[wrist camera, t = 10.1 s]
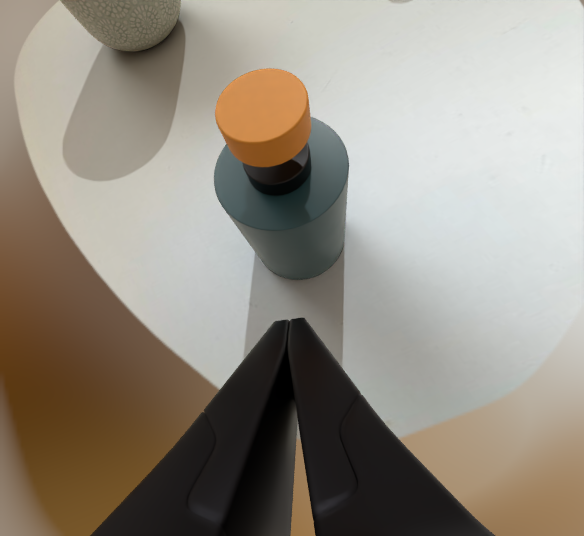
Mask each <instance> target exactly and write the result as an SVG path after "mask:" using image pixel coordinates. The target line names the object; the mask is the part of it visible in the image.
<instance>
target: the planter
mask: <svg viewBox="0 0 584 536" xmlns="http://www.w3.org/2000/svg"><path fill="white" fill-rule="evenodd" d="M60 1H61V2H62V3H63V4H64V6H65V7H66V8H67V9H68V10H69V11H70V13H71V14H72V15H73V16H74V17H75V18H76V19H77V20H78V22H79V23H80V24H81V25H82V26H83V27H84V28H85V29H86V30H87V31H88V32H89V33H90V34H91V35H92V36H93V37H94V38H96V39H97V40H98V41H100V42H101V43H103V44H104V45H106V46H108V47H111V48H114V49H117V50H122V51H141V50H146V49H149V48H151V47H153V46H155V45H157V44H159V43H160V42H161V41H163V40H164V39H165V38H166V37H167V36H168V35H169V34H170V32H171V31H172V29H173V28H174V26H175V24H176V22H177V19H178V16H179V12H180V6H181V0H60Z"/></svg>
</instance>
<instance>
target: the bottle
mask: <svg viewBox="0 0 584 536" xmlns="http://www.w3.org/2000/svg"><path fill="white" fill-rule="evenodd" d="M310 118H311V133H310V136H309V139H308V141H307V143H306V144H305V146H304V147H303V149H302V150H301V151H300V152H299V153H298V154H297V155H296V156H294V157H293V158H292V159H290V160H288V161H286V162H284V163H282V164H279V165H276V166H271V167H255V166H251V165H247V164H245V163H243V162H241V161H240V160H238V159H237V158H236V157H235V156H234V155H233V154H232V153H231V151H230V149H229V147H228V145H227V144H226V145H225V147H224V148H223V150H222V152H221V154H220V155H219V158H218V160H217V163H216V167H215V172H214V186H215V191H216V194H217V197H218V200H219V202H220V203H221V205H222V207H223V208H224V209H225V211H226V212H227V214H228V215H229V216H230V218H231V219H232V220H233V222H234V223H235V225H236V226H237V227H238V229H239V230H240V231H241V233H242V234H243V236H244V237H245V238H246V240H247V241H248V242H249V244H250V245H251V247H252V248H253V249H254V251H255V252H256V253H257V255H258V256H259V258H260V259H261V260H262V262H263V263H264V264H265V265H266V267H267V268H269V269H270V270H271V271H272V272H274V273H275V274H277V275H279V276H282V277H284V278H288V279H296V280H298V279H308V278H311V277H315V276H317V275H319V274H321V273H323V272H325V271H326V270H327V269H329V268H330V267H331V266H332V265H333V264H334V263H335V261H336V260H337V259H338V257H339V255H340V253H341V251H342V248H343V245H344V236H345V220H346V204H347V188H348V172H349V161H348V155H347V151H346V148H345V146H344V144H343V142H342V140H341V139H340V137H339V136H338V135H337V134H336V132H335V131H334V130H333V129H331V128H330V127H329V126H328V125H326V124H325V123H323V122H321V121H319V120H317V119H315V118H312V117H310Z"/></svg>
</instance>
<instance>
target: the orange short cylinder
mask: <svg viewBox="0 0 584 536" xmlns="http://www.w3.org/2000/svg"><path fill="white" fill-rule="evenodd" d="M215 117H216V122H217V125H218V127H219V129H220V131H221V133H222V135H223V137H224V139H225V141H226V143H227V145H228V147H229V149H230V151H231V153H232V154H233V155H234V156H235V157H236V158H237V159H238V160H240V161H241V162H243V163H245V164H247V165H251V166H255V167H271V166H276V165H279V164H282V163H284V162H286V161H288V160H290V159H292V158H293V157H294V156H296V155H297V154H298V153H299V152H300V151H301V150H302V149H303V147H304V146H305V144H306V143H307V141H308V139H309V136H310V133H311V118H310V108H309V99H308V93H307V90H306V88H305V86H304V85H303V83H302V82H301V81H300V80H299V79H298V78H297V77H296V76H295V75H293V74H291V73H289V72H287V71H284V70H279V69H260V70H255V71H252V72H249V73H246V74H244V75H242V76H240V77H238V78H237V79H235V80H234V81H233V82H231V83H230V84H229V85H228V86H227V87H226V88H225V89H224V91H223V92H222V93H221V95H220V97H219V99H218V101H217V105H216V110H215Z"/></svg>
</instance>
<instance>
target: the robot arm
mask: <svg viewBox="0 0 584 536" xmlns="http://www.w3.org/2000/svg"><path fill="white" fill-rule="evenodd" d="M204 412H205V413H204ZM204 412H202V413H201V414H200V415H199V417H198V418H197V419H196V420H195V421H194V423H193V424H192V425H191V427H190V428H189V429H188V430H187V431H186V432H185V434H184V435H183V436H182V437H181V438H180V440H179V441H178V442H177V443H176V444H175V446H174V447H173V448H172V449H171V450H170V451H169V452H168V453H167V454H166V456H165V457H164V458H163V459H162V460H161V461H160V462H159V463H158V464H157V465H156V466H155V468H154V469H153V470H152V471H151V472H150V473H149V474H148V475H147V477H145V479H143V480H142V481H141V483H140V484H139V485H138V486H137V487H136V488H135V489H134V490H133V491H132V492H131V493H130V494H129V495H128V496H127V497H126V498H125V499H124V501H123V502H122V503H121V504H120V505H119V506H118V507H117V508H116V509H115V510H114V511H113V512H112V513H111V514H110V515H109V516H108V517H107V519H106V520H105V521H104V522H103V523H102V524H101V525H100V526H99V527H98V528H97V529H96V530H95V531H94V532H93V533H92V534H91V535H90V536H290V533H291V517H292V501H293V483H294V468H295V450H296V435H297V418H298V424H299V430H300V437H301V443H302V450H303V457H304V463H305V469H306V476H307V483H308V488H309V496H310V501H311V509H312V515H313V520H314V528H315V535H316V536H495V535H494V534H492V532H490V531H489V530H488V529H487V528H486V527H484V526H483V525H482V524H481V523H480V522H479V521H478V520H477V519H475V517H474V516H472V514H471V513H470V512H469V511H467V509H465V507H464V506H463V505H462V504H461V503H459V501H458V500H457V499H456V498H454V496H453V495H452V494H451V493H450V492H449V491H448V490H447V489H446V488H445V487H444V486H443V485H442V484H441V483H440V482H439V481H438V480H437V479H436V478H435V477H434V476H433V474H432V473H430V471H429V470H428V469H427V468H426V467H425V466H424V465H423V464H422V463H421V462H420V461H419V460H418V459H417V458H416V457H415V456H414V455H413V454H412V453H411V452H410V451H409V450H408V449H407V448H406V447H405V445H404V444H403V443H402V442H401V441H400V440H399V439H398V438H397V437H396V436H395V435H394V433H393V432H392V431H391V430H390V429H389V428H388V427H387V426H386V425H385V423H384V422H383V421H382V420H381V418H380V417H379V416H378V415H377V413H376V412H375V411H374V410H373V408H372V407H371V406H370V404H369V403H368V402H367V400H366V399H365V398H364V396H363V395H361V393H360V391H359V390H358V389H357V387H356V386H355V385H354V383H353V382H352V381H351V379H350V378H349V377H348V375H347V374H346V373H345V371H344V370H343V369H342V367H341V366H340V365H339V363H338V362H337V361H336V359H335V358H334V357H333V355H332V354H331V353H330V351H329V350H328V349H327V347H326V346H325V345H324V343H323V342H322V341H321V339H320V338H319V337H318V335H317V334H316V333H315V331H314V330H313V329H312V327H311V326H310V325H309V323H308V322H307V321H306V319H305V318H296V319H291V320H290V321H289V320H281V321H275V322H274V323H273V324H272V325H271V327H270V328H269V329H268V330H267V332H266V333H265V334H264V335H263V337H262V338H261V339H260V340H259V342H258V343H257V344H256V345H255V347H254V348H253V349H252V350H251V352H250V353H249V354H248V355H247V357H246V358H245V359H244V360H243V362H242V363H241V364H240V365H239V367H238V368H237V369H236V370H235V372H234V373H233V374H232V375H231V377H230V378H229V379H228V380H227V382H226V383H225V384H224V385H223V387H222V388H221V389H220V390H219V392H218V393H217V394H216V395H215V397H214V398H213V399H212V400H211V402H210V403H209V404H208V406H207V407H206V408H205V409H204Z"/></svg>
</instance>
